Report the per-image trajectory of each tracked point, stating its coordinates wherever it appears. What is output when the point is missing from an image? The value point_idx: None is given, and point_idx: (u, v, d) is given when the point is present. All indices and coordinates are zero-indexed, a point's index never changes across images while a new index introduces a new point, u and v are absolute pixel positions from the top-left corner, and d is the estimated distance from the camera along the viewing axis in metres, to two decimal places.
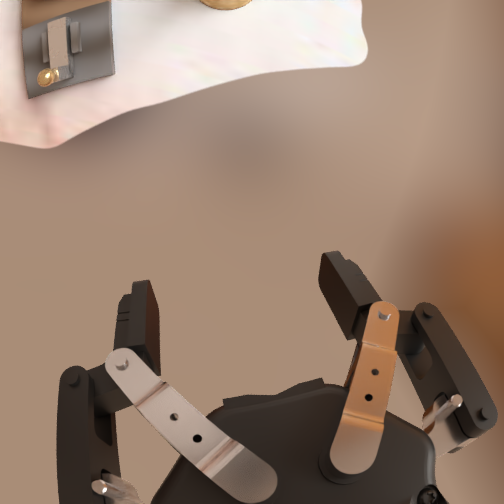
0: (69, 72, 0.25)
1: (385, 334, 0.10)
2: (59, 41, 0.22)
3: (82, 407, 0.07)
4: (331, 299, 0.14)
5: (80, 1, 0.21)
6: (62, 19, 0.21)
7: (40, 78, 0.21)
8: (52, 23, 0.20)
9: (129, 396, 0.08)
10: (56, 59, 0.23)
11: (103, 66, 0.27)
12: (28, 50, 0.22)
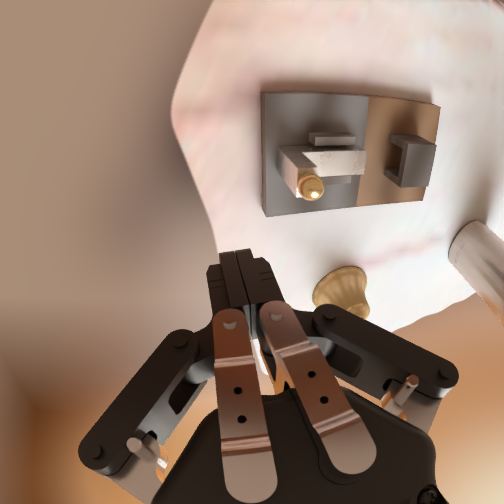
0: None
1: (291, 333, 0.10)
2: (336, 166, 0.26)
3: (171, 371, 0.09)
4: None
5: (368, 176, 0.29)
6: (362, 170, 0.26)
7: (317, 189, 0.21)
8: (363, 157, 0.26)
9: (216, 352, 0.09)
10: (314, 161, 0.25)
11: (279, 205, 0.29)
12: (337, 103, 0.24)
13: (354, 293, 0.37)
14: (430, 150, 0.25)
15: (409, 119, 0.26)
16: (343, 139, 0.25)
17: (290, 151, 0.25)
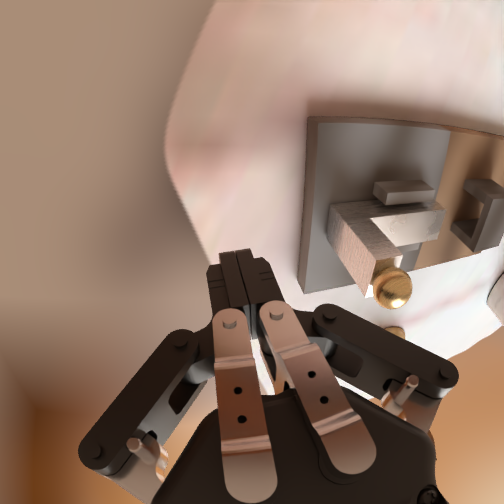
0: None
1: (291, 333, 0.10)
2: (409, 233, 0.17)
3: (171, 371, 0.09)
4: None
5: None
6: (436, 234, 0.18)
7: (405, 298, 0.12)
8: (441, 218, 0.17)
9: (216, 352, 0.09)
10: (383, 229, 0.17)
11: (322, 279, 0.21)
12: (414, 140, 0.16)
13: None
14: None
15: (486, 160, 0.18)
16: (421, 194, 0.16)
17: (352, 215, 0.16)
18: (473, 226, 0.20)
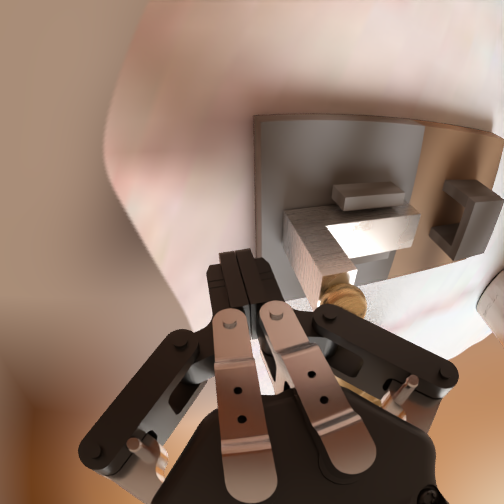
0: None
1: (291, 333, 0.10)
2: (376, 241, 0.16)
3: (172, 371, 0.09)
4: None
5: None
6: (410, 242, 0.17)
7: None
8: (414, 224, 0.16)
9: (216, 352, 0.09)
10: (344, 237, 0.16)
11: (281, 290, 0.20)
12: (380, 136, 0.15)
13: None
14: (496, 208, 0.16)
15: (470, 159, 0.17)
16: (387, 198, 0.15)
17: (306, 223, 0.15)
18: (455, 231, 0.19)
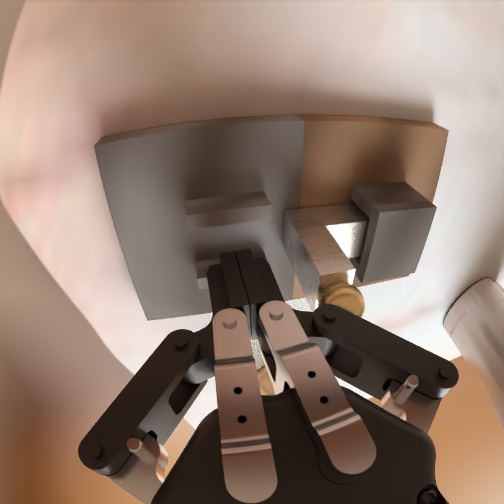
0: None
1: (291, 333, 0.10)
2: None
3: (172, 371, 0.09)
4: None
5: None
6: None
7: None
8: None
9: (216, 352, 0.09)
10: (344, 238, 0.16)
11: (162, 307, 0.19)
12: (235, 141, 0.14)
13: None
14: (423, 218, 0.15)
15: (390, 156, 0.15)
16: (245, 212, 0.14)
17: (306, 223, 0.15)
18: None
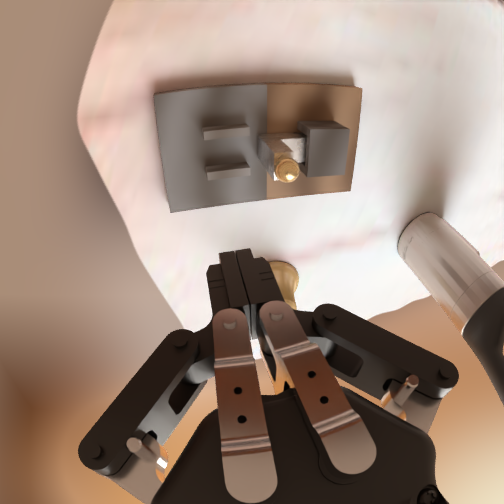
0: None
1: (291, 333, 0.10)
2: None
3: (171, 371, 0.09)
4: None
5: None
6: None
7: (292, 172, 0.22)
8: None
9: (216, 352, 0.09)
10: (292, 148, 0.26)
11: (181, 201, 0.30)
12: (230, 95, 0.24)
13: None
14: (341, 135, 0.26)
15: (321, 104, 0.26)
16: (235, 131, 0.25)
17: (269, 138, 0.26)
18: None
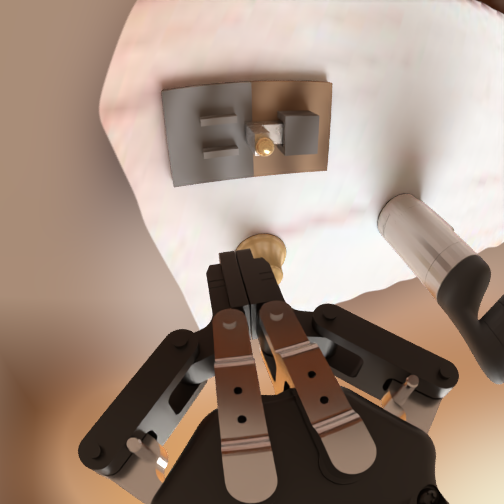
0: None
1: (291, 333, 0.10)
2: None
3: (172, 372, 0.09)
4: None
5: None
6: None
7: (268, 147, 0.28)
8: None
9: (216, 352, 0.09)
10: (272, 132, 0.32)
11: (183, 177, 0.36)
12: (222, 91, 0.30)
13: (266, 257, 0.43)
14: (312, 121, 0.31)
15: (296, 97, 0.32)
16: (225, 119, 0.31)
17: (253, 124, 0.32)
18: None
